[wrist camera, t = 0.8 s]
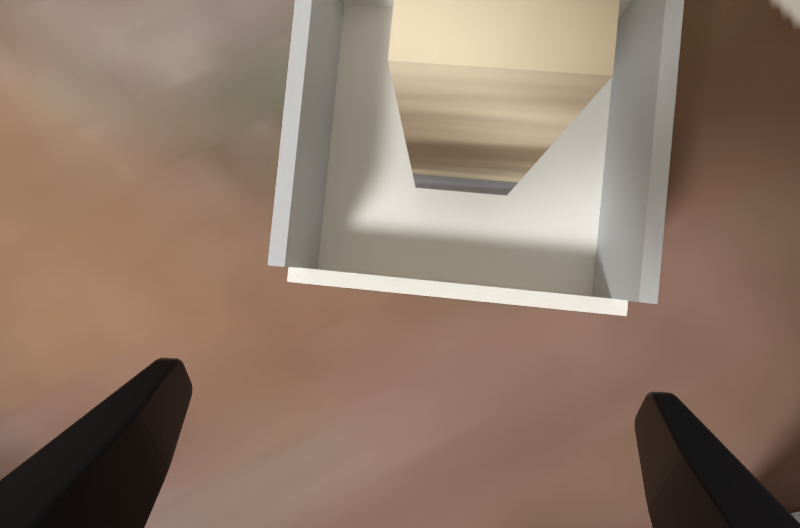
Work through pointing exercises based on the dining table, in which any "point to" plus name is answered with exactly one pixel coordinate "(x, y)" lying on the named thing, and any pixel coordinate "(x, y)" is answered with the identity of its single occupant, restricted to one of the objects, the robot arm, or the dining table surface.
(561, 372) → the dining table surface
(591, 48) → the birch block
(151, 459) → the robot arm
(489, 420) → the dining table surface
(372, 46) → the white open box
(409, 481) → the dining table surface
